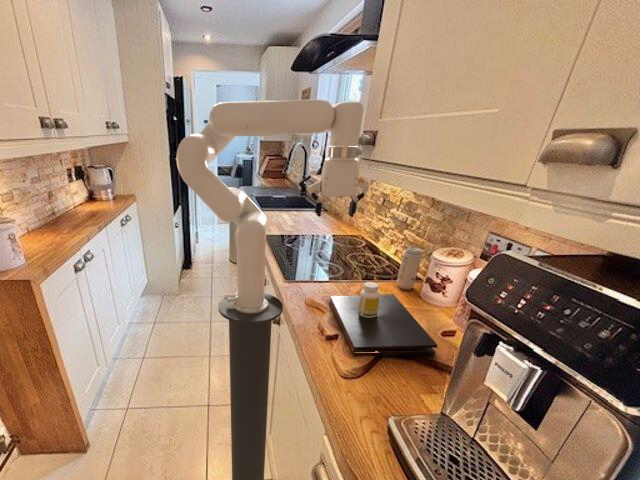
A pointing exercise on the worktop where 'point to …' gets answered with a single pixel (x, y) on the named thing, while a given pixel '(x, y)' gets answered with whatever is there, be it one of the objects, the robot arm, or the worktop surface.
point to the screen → (381, 325)
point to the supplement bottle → (369, 300)
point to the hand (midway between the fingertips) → (334, 215)
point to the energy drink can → (409, 267)
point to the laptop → (386, 352)
